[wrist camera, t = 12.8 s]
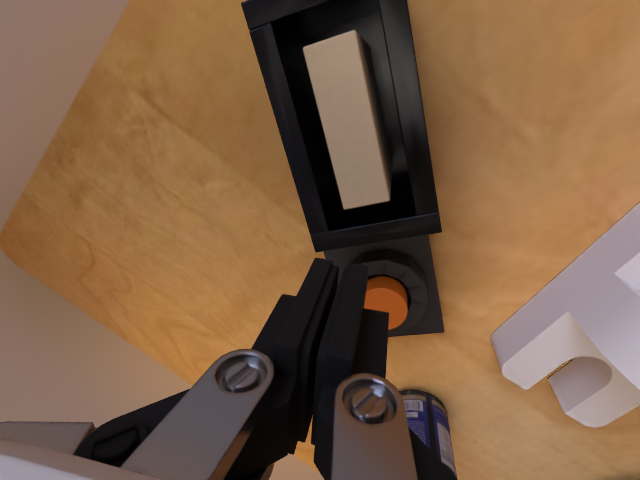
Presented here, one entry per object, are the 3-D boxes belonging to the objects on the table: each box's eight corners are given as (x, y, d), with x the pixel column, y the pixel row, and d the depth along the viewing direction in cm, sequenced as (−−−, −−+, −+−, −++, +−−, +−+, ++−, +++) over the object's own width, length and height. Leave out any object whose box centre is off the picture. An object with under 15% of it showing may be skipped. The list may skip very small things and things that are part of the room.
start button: (354, 279, 26) (351, 291, 25) (402, 272, 25) (402, 285, 24) (364, 318, 28) (362, 332, 26) (410, 313, 27) (411, 328, 25)
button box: (324, 227, 29) (314, 248, 26) (423, 209, 27) (427, 229, 23) (352, 324, 33) (346, 354, 29) (441, 316, 30) (447, 347, 27)
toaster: (287, 24, 24) (240, 2, 17) (398, -17, 21) (397, -61, 14) (335, 209, 28) (315, 252, 21) (430, 191, 26) (442, 232, 19)
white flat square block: (358, 173, 26) (343, 210, 19) (332, 56, 23) (301, 47, 16) (392, 166, 25) (390, 201, 18) (369, 44, 22) (355, 29, 15)
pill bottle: (377, 418, 37) (369, 540, 27) (395, 378, 34) (393, 499, 25) (434, 437, 37) (447, 569, 27) (457, 399, 34) (481, 530, 24)
